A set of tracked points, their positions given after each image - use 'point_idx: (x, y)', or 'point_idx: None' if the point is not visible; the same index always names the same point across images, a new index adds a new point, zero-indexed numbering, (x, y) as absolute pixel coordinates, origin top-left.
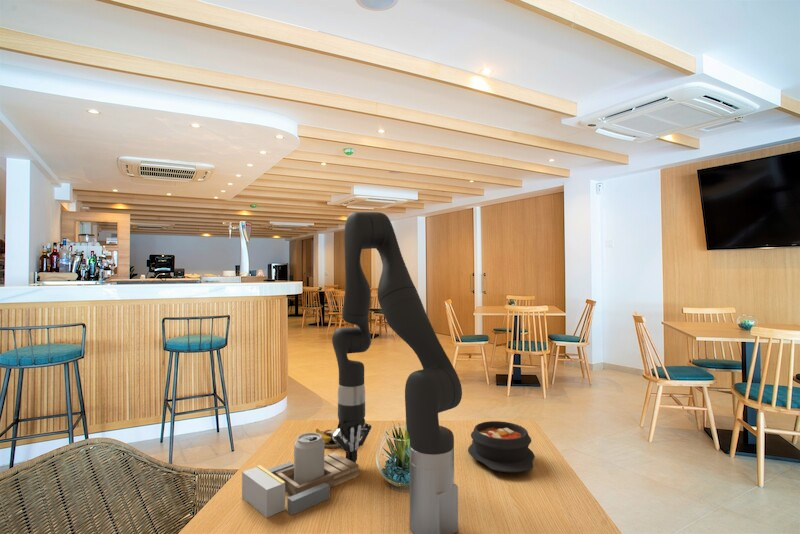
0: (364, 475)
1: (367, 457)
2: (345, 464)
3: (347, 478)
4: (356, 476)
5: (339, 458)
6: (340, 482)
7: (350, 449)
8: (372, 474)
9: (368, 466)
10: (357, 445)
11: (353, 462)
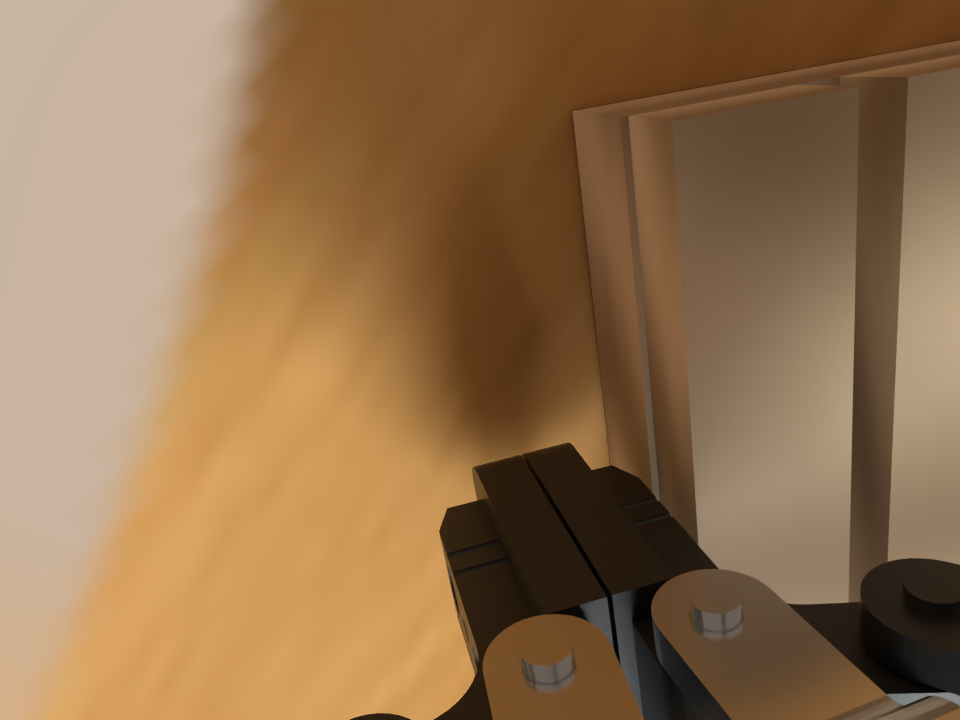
0: (471, 71)
1: (86, 684)
2: (848, 313)
3: (833, 67)
4: (626, 102)
5: (798, 587)
6: (953, 44)
7: (767, 602)
8: (314, 11)
9: (229, 366)
10: (532, 709)
11: (694, 293)
